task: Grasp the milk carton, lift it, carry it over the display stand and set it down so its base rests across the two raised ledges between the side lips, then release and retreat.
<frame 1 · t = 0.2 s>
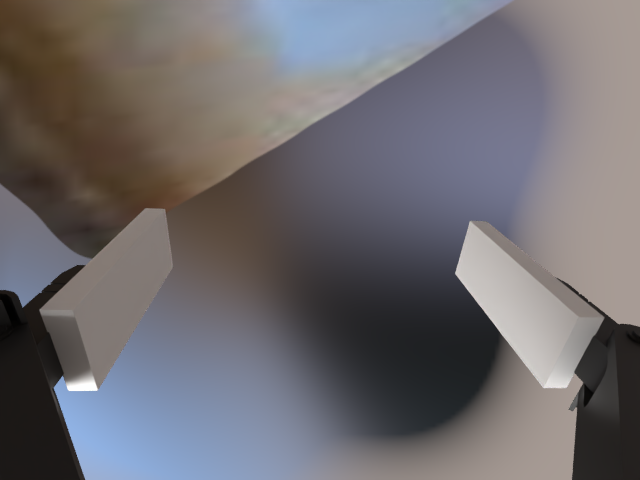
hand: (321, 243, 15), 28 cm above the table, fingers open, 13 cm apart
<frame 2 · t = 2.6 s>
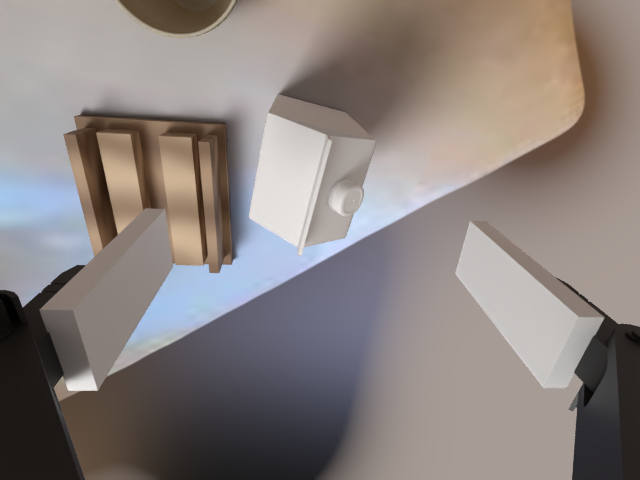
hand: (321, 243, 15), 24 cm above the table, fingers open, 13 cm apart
milk carton: (304, 137, 37), on the table
display stand: (164, 195, 38), on the table
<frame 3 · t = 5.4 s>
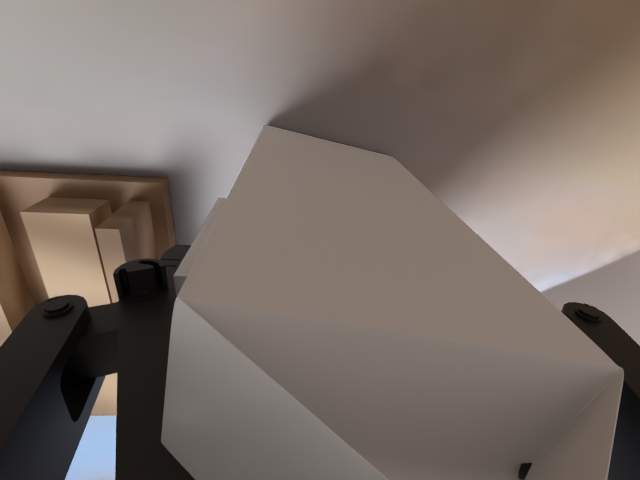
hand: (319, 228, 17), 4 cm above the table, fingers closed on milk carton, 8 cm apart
milk carton: (314, 200, 20), on the table, touching gripper
display stand: (67, 297, 22), on the table
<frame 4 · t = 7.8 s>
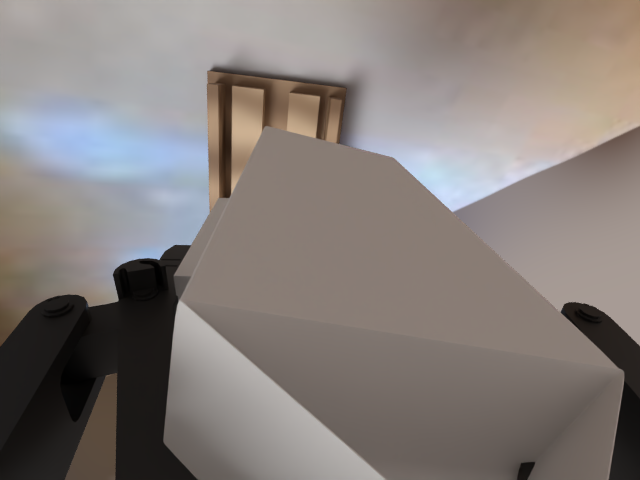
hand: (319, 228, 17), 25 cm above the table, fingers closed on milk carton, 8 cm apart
milk carton: (314, 201, 20), point 21 cm above the table, touching gripper
display stand: (274, 156, 39), on the table
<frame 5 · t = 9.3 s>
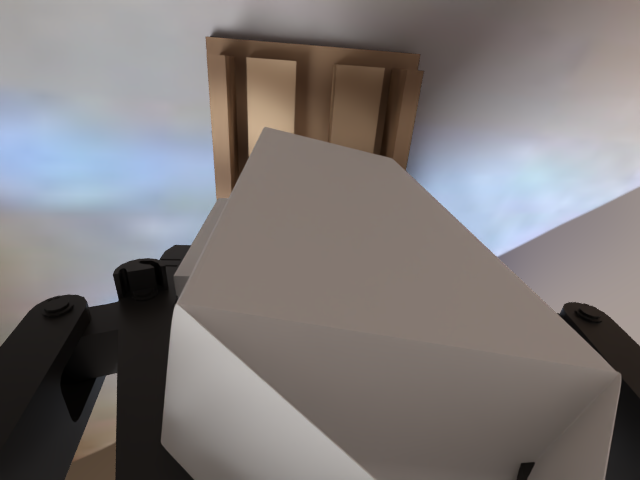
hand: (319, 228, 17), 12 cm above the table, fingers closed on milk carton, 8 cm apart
milk carton: (314, 202, 20), point 8 cm above the table, touching gripper
display stand: (308, 163, 27), on the table
when the fingers open (8 cm above the table, at t = 10.6 s): milk carton stays where it is, resting on display stand.
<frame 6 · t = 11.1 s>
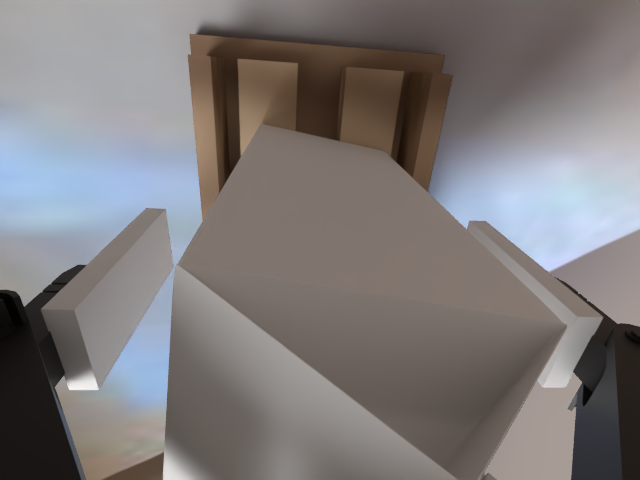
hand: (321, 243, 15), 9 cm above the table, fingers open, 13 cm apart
milk carton: (310, 195, 21), point 3 cm above the table, touching display stand
display stand: (311, 181, 23), on the table
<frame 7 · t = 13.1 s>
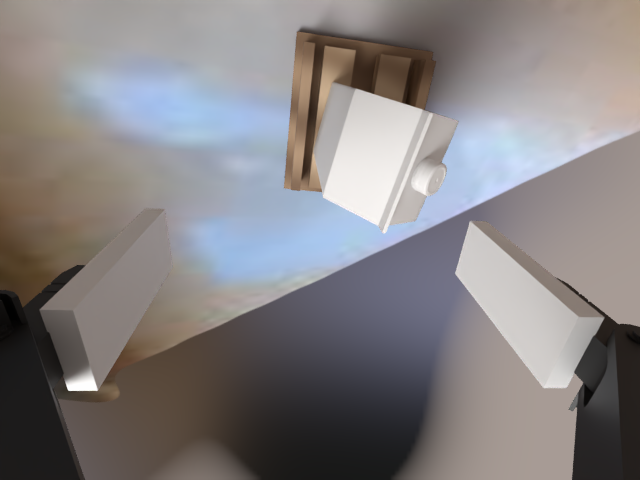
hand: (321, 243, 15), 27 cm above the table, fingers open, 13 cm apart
milk carton: (354, 127, 37), point 3 cm above the table, touching display stand
display stand: (352, 123, 39), on the table
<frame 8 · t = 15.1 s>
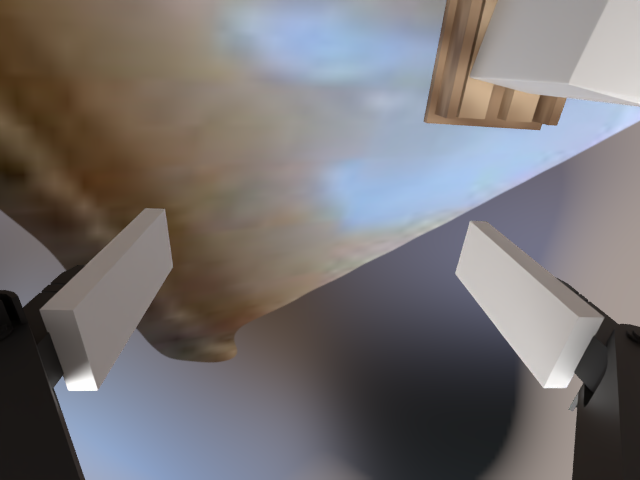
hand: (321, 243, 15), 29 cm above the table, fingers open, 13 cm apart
milk carton: (512, 48, 36), point 3 cm above the table, touching display stand
display stand: (499, 49, 38), on the table
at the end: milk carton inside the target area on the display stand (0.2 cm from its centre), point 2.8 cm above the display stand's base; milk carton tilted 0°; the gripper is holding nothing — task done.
